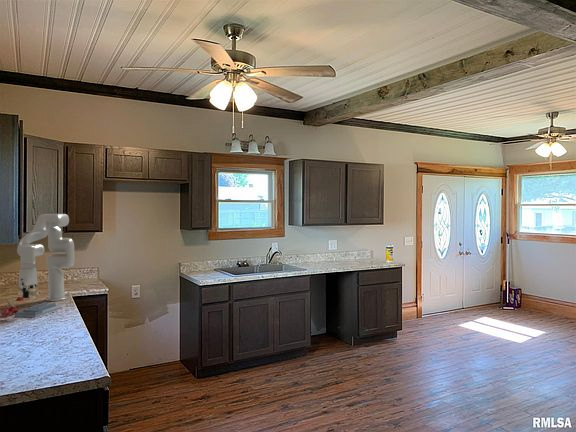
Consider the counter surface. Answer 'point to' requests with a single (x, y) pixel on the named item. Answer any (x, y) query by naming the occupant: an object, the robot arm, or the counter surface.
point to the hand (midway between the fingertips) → (28, 296)
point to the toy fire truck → (13, 309)
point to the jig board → (38, 310)
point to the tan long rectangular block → (29, 292)
